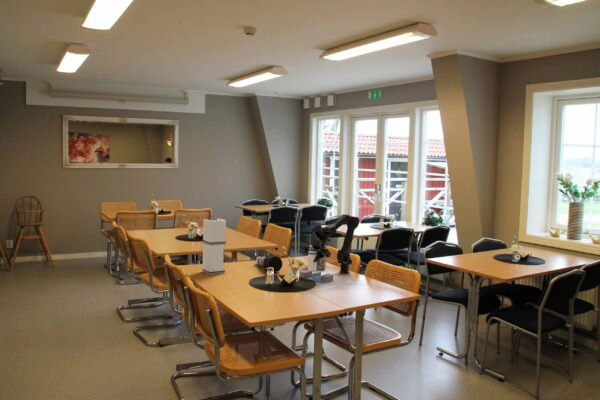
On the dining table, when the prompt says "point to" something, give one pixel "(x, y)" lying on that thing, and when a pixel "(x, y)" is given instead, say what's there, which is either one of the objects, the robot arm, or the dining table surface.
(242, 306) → the dining table surface
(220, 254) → the white stacked pillar
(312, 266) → the plug
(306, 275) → the grey compartment tray
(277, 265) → the black bottle
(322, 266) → the decorative jar
